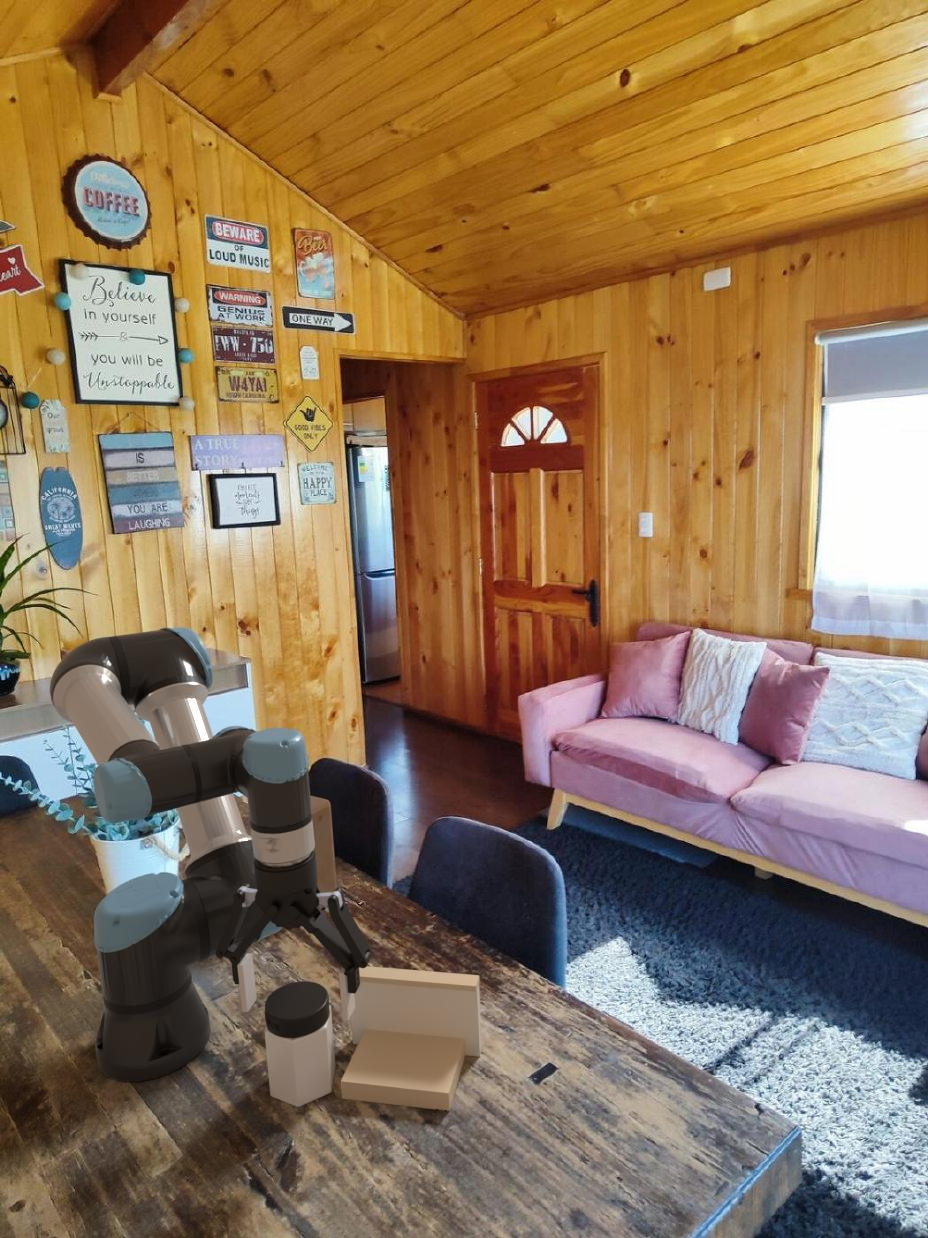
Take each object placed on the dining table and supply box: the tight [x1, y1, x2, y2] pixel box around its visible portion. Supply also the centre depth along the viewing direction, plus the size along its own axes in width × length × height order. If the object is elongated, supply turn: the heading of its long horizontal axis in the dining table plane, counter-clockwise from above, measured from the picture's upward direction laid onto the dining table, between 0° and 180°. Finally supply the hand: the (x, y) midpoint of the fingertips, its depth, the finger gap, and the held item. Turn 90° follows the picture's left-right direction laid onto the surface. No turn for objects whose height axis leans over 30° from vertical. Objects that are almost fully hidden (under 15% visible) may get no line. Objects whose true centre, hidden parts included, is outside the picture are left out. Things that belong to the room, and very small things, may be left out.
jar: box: [264, 980, 336, 1108], centre depth 106 cm, size 9×8×12 cm
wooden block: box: [310, 795, 338, 910], centre depth 151 cm, size 10×10×20 cm
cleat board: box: [340, 965, 483, 1112], centre depth 108 cm, size 18×12×11 cm, turn 79°
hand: (298, 1010), depth 105 cm, fingers open, 13 cm apart
